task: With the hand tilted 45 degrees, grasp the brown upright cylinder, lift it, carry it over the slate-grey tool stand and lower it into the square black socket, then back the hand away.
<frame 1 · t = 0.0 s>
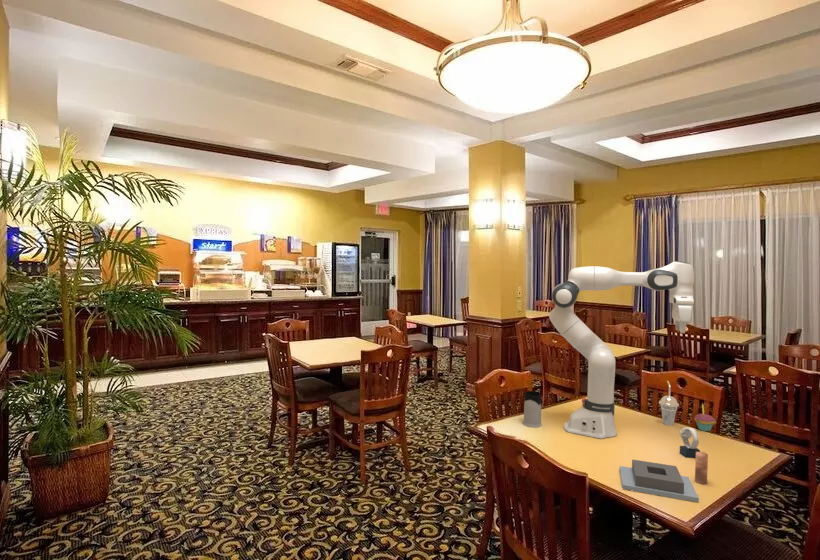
hand: (680, 331, 194), 48 cm above the table, tool pointing down, fingers open, 8 cm apart
glass holder: (533, 423, 217), on the table
cup with straw: (668, 424, 219), on the table
cupcake: (704, 429, 212), on the table
brown upright cylinder: (700, 482, 159), on the table
watch: (689, 456, 182), on the table
tool stand: (656, 485, 156), on the table
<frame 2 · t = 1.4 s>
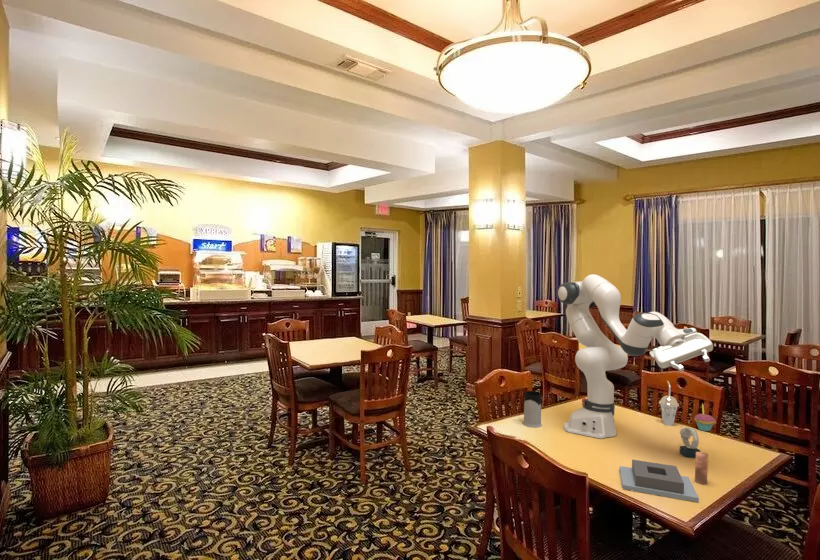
hand: (694, 365, 167), 39 cm above the table, tool tilted 60°, fingers open, 8 cm apart
nothing on the table moved.
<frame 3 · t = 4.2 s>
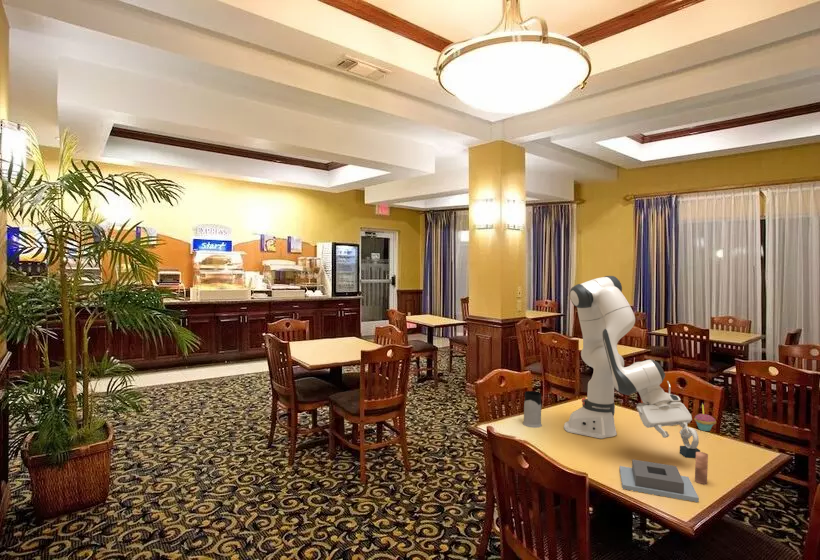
hand: (676, 435, 167), 13 cm above the table, tool tilted 45°, fingers open, 8 cm apart
nothing on the table moved.
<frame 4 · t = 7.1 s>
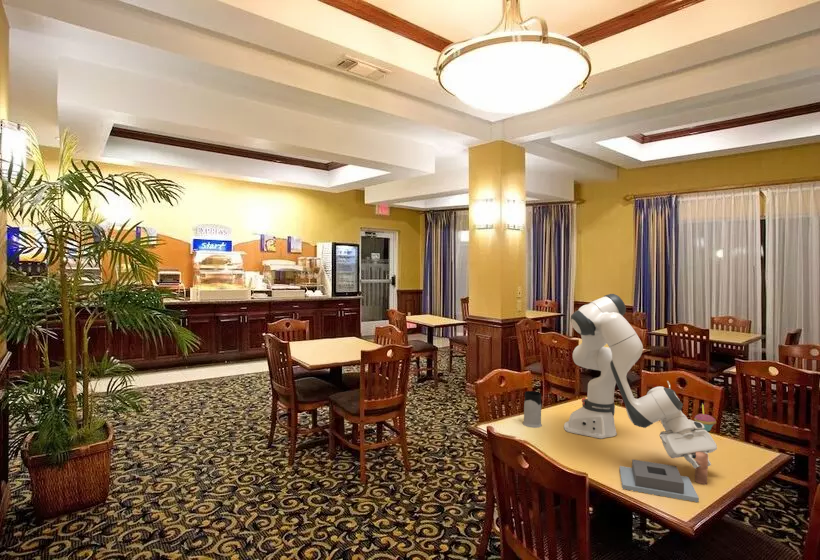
hand: (703, 466, 158), 6 cm above the table, tool tilted 45°, fingers closed on brown upright cylinder, 4 cm apart
brown upright cylinder: (700, 482, 159), on the table, touching gripper
everything else where it was.
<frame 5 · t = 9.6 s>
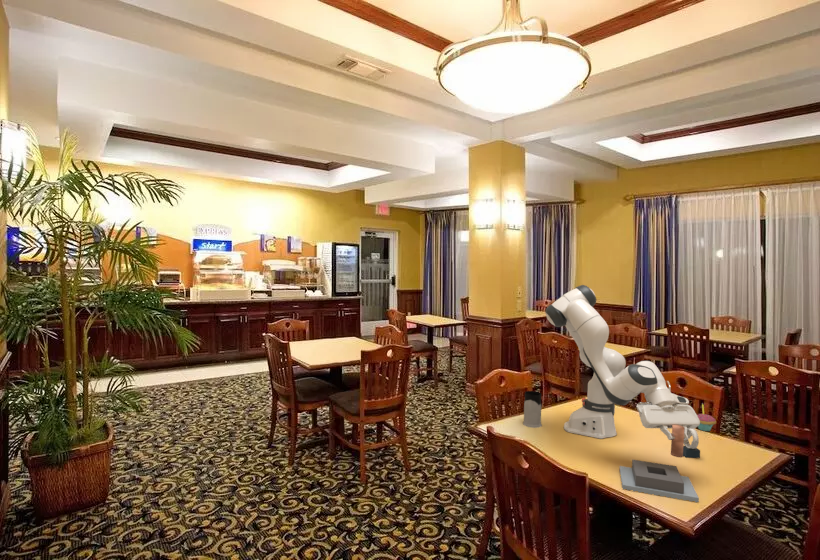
hand: (678, 439, 155), 16 cm above the table, tool tilted 45°, fingers closed on brown upright cylinder, 4 cm apart
brown upright cylinder: (676, 455, 156), point 10 cm above the table, touching gripper
everything else where it was.
when the fingers open (8 cm above the table, at t = 12.5 s): brown upright cylinder stays where it is, resting on tool stand.
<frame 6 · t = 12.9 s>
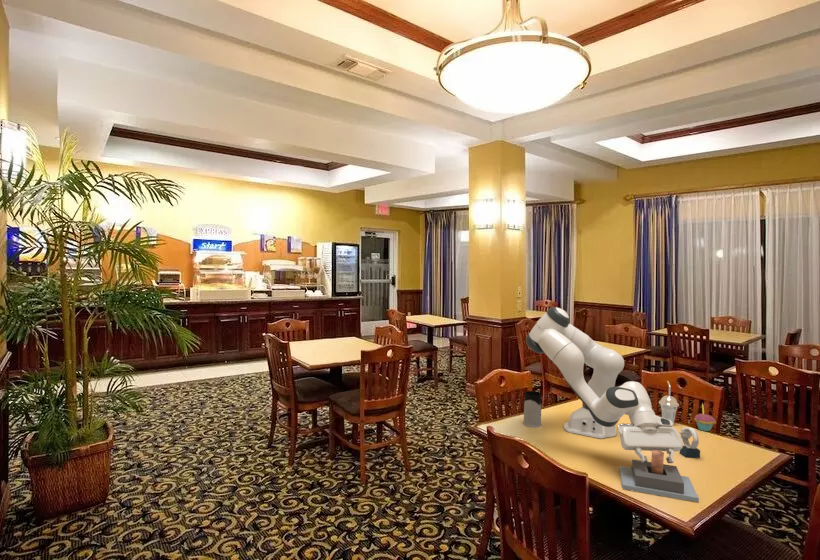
hand: (657, 462, 155), 8 cm above the table, tool tilted 45°, fingers open, 7 cm apart
brown upright cylinder: (656, 480, 156), point 2 cm above the table, touching tool stand
everything else where it was.
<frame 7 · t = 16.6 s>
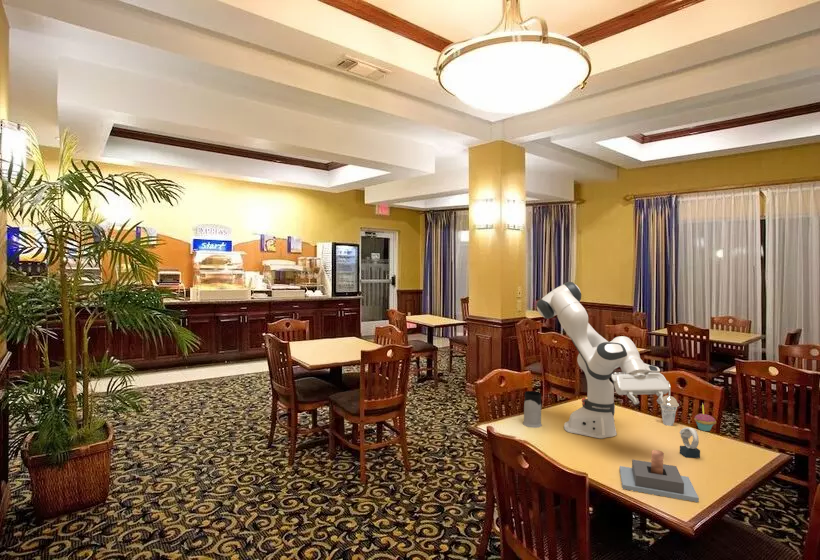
hand: (649, 403, 172), 23 cm above the table, tool tilted 45°, fingers open, 8 cm apart
nothing on the table moved.
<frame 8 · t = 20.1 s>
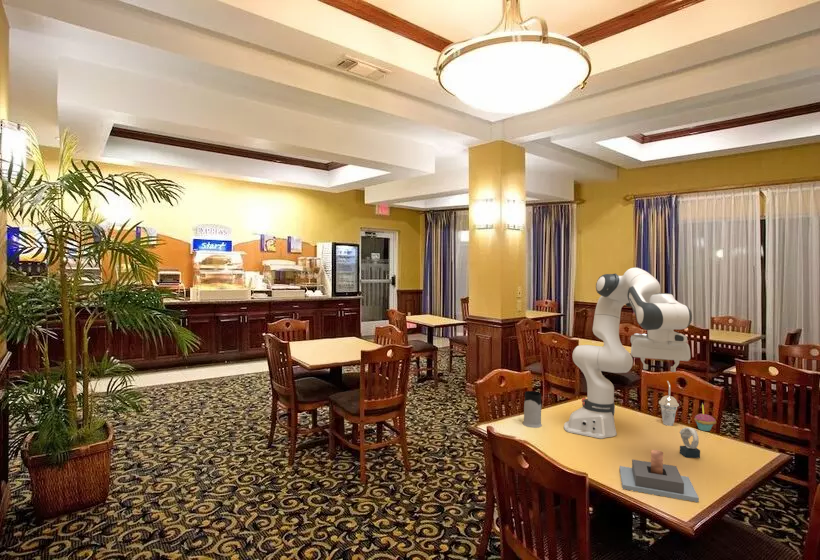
hand: (659, 370, 176), 35 cm above the table, tool pointing down, fingers open, 8 cm apart
nothing on the table moved.
at the end: brown upright cylinder 0.1 cm off-centre on the tool stand, point 1.5 cm above the tool stand's base; brown upright cylinder tilted 1°; the gripper is holding nothing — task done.
